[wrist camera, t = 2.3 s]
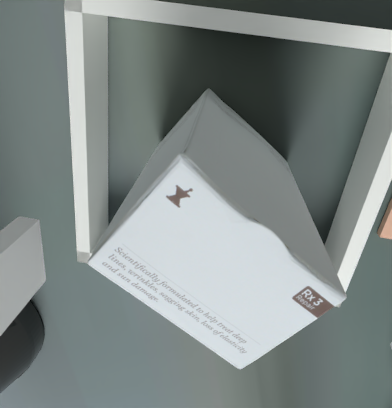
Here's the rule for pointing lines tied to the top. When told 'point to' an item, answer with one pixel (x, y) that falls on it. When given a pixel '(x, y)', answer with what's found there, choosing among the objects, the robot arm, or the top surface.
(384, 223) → the tile
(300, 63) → the top surface
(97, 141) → the bin
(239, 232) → the skincare box
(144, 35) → the top surface
